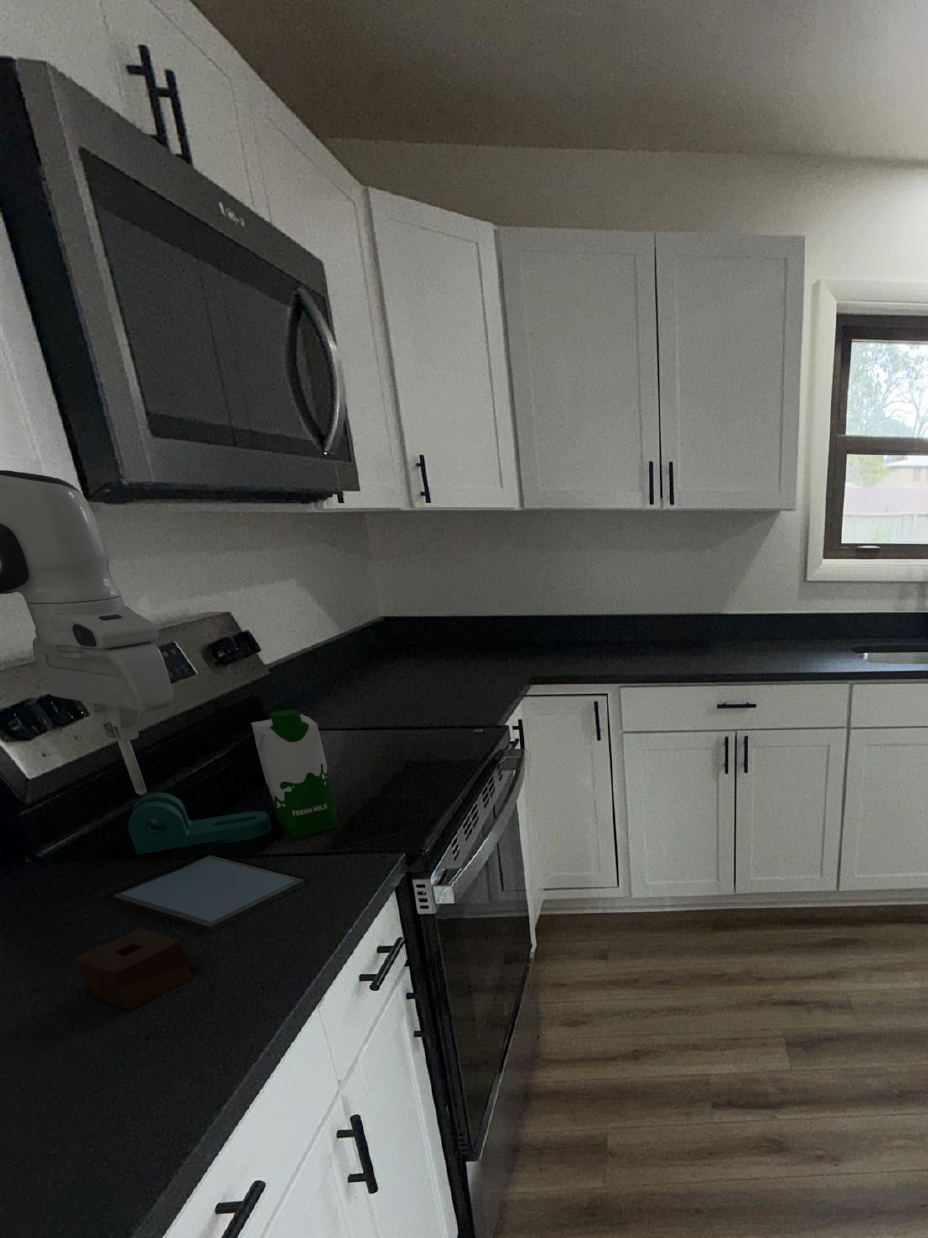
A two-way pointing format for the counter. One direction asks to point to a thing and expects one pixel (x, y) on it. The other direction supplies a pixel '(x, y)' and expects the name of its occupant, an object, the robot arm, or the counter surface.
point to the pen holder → (134, 968)
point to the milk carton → (296, 773)
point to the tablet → (209, 892)
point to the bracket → (187, 825)
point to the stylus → (129, 758)
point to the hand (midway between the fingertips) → (122, 737)
